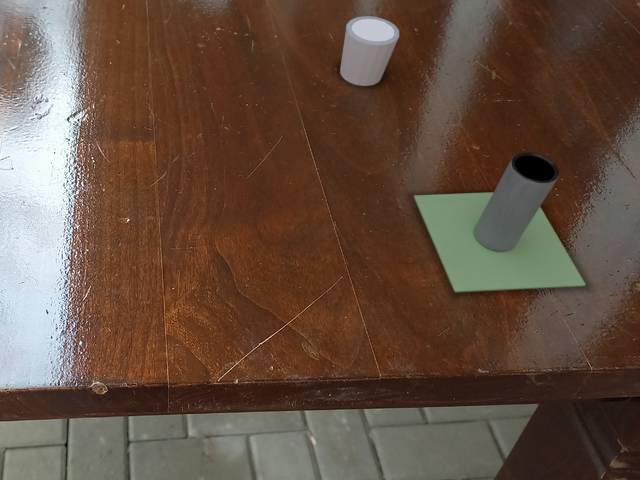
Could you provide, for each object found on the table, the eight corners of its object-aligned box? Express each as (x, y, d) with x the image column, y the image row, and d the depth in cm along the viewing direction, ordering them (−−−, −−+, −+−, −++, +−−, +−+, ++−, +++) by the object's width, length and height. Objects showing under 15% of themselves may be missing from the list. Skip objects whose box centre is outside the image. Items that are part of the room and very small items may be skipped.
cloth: (529, 193, 81) (531, 190, 81) (583, 287, 72) (586, 285, 72) (412, 198, 80) (414, 195, 80) (453, 294, 71) (455, 291, 71)
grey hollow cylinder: (476, 249, 75) (515, 179, 67) (470, 219, 78) (507, 149, 70) (519, 254, 74) (564, 185, 66) (512, 224, 77) (554, 153, 69)
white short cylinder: (340, 90, 93) (352, 44, 88) (330, 60, 97) (341, 15, 92) (390, 90, 93) (405, 44, 88) (378, 60, 98) (392, 15, 92)
